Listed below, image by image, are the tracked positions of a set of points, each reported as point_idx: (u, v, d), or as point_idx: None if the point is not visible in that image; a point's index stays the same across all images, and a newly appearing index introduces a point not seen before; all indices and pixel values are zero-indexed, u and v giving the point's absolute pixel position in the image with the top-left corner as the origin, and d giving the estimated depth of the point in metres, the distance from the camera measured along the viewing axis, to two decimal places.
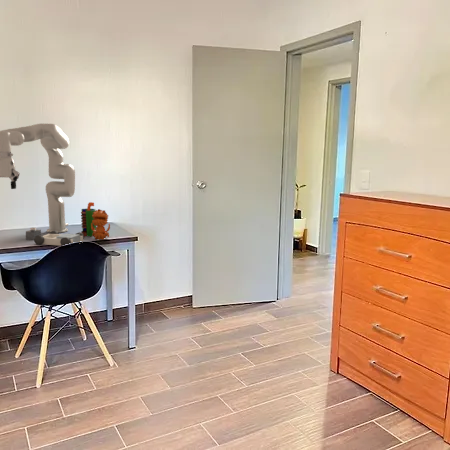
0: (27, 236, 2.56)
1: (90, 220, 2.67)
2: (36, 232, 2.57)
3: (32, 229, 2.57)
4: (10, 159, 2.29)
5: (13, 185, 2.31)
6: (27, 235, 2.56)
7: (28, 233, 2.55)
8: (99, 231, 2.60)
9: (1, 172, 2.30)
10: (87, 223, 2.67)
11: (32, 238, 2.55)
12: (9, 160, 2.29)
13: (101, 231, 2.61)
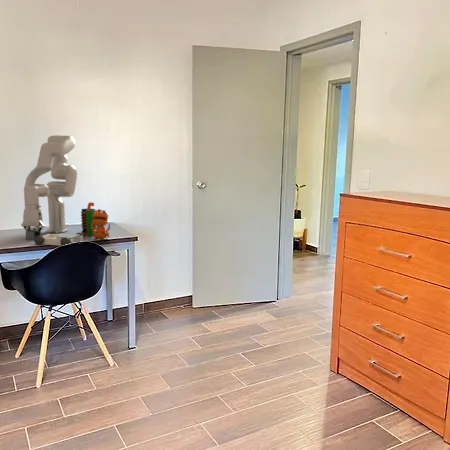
0: (27, 236, 2.56)
1: (90, 220, 2.67)
2: None
3: (32, 229, 2.57)
4: (38, 210, 2.55)
5: (38, 235, 2.57)
6: (27, 235, 2.56)
7: (28, 233, 2.55)
8: (99, 231, 2.60)
9: (30, 222, 2.55)
10: (87, 223, 2.67)
11: (32, 238, 2.55)
12: (37, 211, 2.54)
13: (101, 231, 2.61)
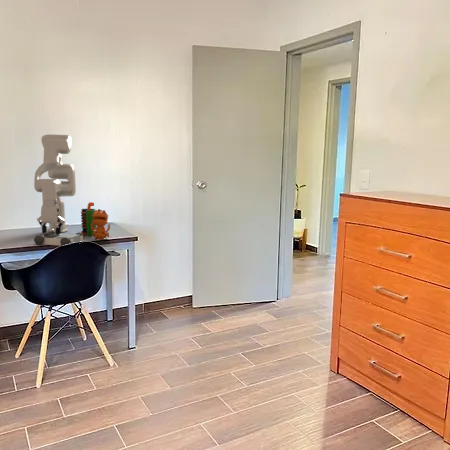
0: (45, 237, 2.48)
1: (90, 220, 2.67)
2: (54, 233, 2.49)
3: (50, 230, 2.49)
4: (56, 206, 2.46)
5: (58, 231, 2.48)
6: (45, 236, 2.48)
7: (46, 234, 2.47)
8: (99, 231, 2.60)
9: (48, 219, 2.47)
10: (87, 223, 2.67)
11: None
12: (56, 207, 2.46)
13: (101, 231, 2.61)
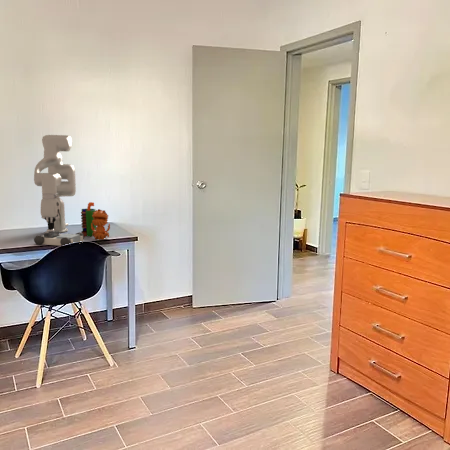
0: (45, 237, 2.48)
1: (90, 220, 2.67)
2: (54, 233, 2.49)
3: (50, 230, 2.49)
4: (56, 200, 2.46)
5: (52, 226, 2.48)
6: (45, 236, 2.48)
7: (46, 234, 2.47)
8: (99, 231, 2.60)
9: (48, 212, 2.46)
10: (87, 223, 2.67)
11: None
12: (55, 201, 2.45)
13: (101, 231, 2.61)
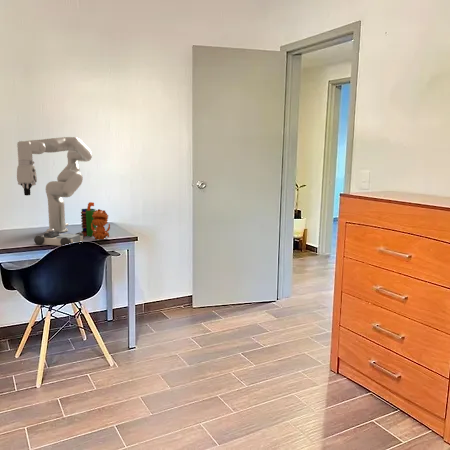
0: (45, 237, 2.48)
1: (90, 220, 2.67)
2: (54, 233, 2.49)
3: (50, 230, 2.49)
4: (32, 166, 2.53)
5: (28, 192, 2.56)
6: (45, 236, 2.48)
7: (46, 234, 2.47)
8: (99, 231, 2.60)
9: (24, 178, 2.54)
10: (87, 223, 2.67)
11: None
12: (31, 167, 2.53)
13: (101, 231, 2.61)
